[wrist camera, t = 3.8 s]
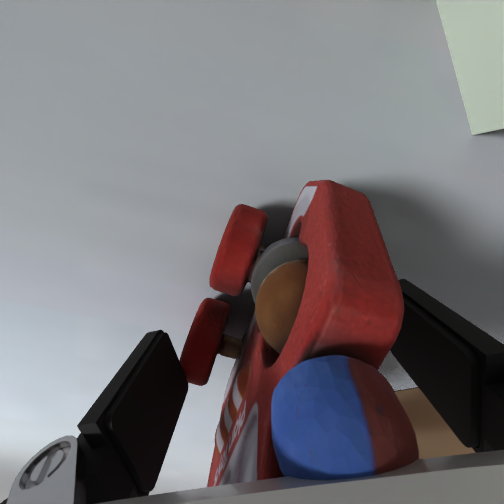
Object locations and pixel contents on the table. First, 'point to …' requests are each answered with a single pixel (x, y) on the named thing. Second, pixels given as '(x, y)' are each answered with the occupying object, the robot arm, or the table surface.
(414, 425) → the tan block
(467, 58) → the sage cube
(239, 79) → the table surface
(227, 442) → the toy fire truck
